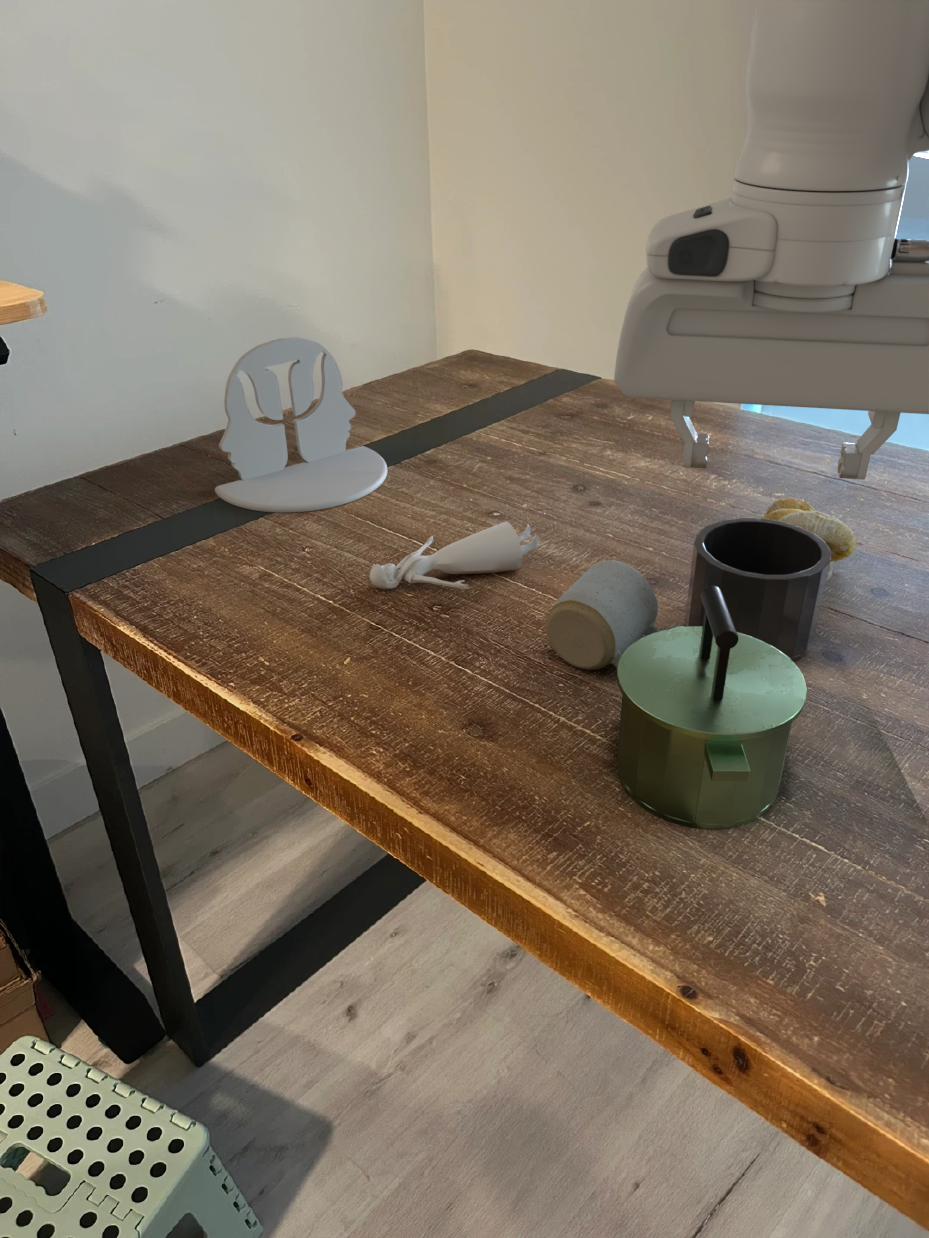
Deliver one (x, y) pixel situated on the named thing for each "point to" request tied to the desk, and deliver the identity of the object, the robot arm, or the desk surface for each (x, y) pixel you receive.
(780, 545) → the black cup
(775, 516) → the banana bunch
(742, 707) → the pot lid
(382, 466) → the ornament
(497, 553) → the woman figurine
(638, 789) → the pot
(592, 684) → the desk surface
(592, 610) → the ceramic mug
